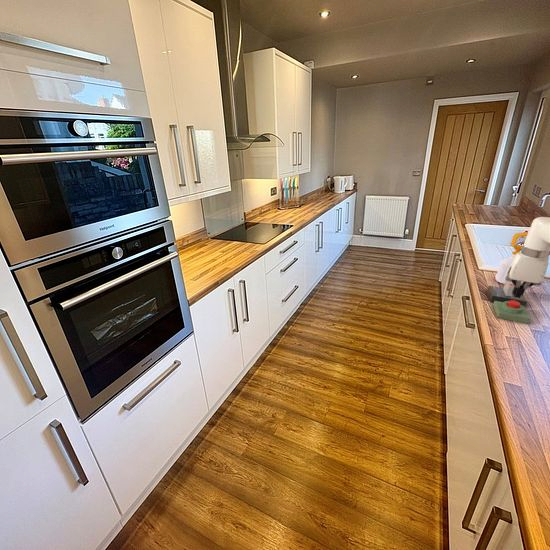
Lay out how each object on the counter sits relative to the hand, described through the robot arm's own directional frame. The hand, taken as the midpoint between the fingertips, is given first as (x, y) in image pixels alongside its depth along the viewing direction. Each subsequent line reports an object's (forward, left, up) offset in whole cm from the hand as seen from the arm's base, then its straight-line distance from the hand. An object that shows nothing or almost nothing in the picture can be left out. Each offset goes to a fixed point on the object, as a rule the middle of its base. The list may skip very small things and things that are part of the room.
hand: (516, 295), depth 112 cm
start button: (0, 0, -5) cm, 5 cm away
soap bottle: (-5, -33, -8) cm, 34 cm away
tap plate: (-1, -13, -8) cm, 15 cm away
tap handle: (-1, -13, -5) cm, 14 cm away
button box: (0, 0, -8) cm, 8 cm away
